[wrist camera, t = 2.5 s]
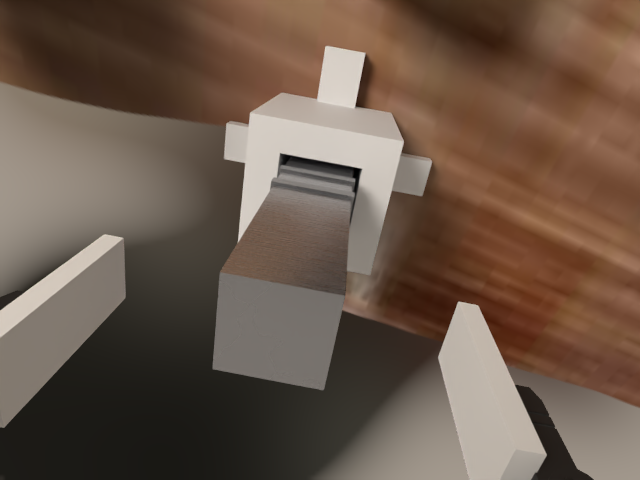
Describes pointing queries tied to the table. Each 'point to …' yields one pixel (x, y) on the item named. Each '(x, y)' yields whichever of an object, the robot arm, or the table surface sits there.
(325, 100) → the housing
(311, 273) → the post
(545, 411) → the robot arm
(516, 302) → the table surface
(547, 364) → the table surface
